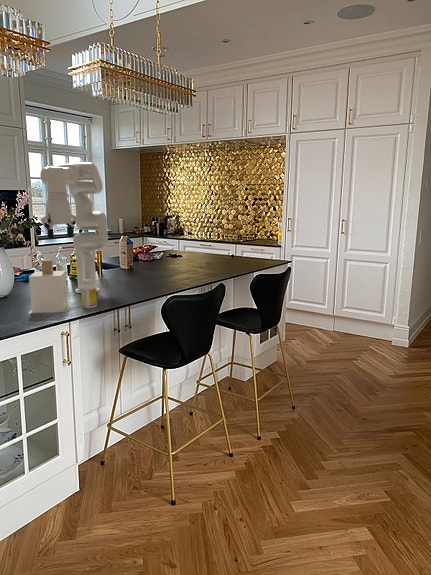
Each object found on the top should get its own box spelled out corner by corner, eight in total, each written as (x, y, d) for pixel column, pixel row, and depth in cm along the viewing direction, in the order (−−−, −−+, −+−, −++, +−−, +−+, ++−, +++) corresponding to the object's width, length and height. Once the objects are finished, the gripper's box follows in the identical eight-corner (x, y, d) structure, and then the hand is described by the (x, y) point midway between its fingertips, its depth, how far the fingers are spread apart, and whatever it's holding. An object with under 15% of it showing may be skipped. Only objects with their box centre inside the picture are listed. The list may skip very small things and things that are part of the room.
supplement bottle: (98, 305, 207) (97, 278, 204) (95, 308, 201) (93, 281, 198) (84, 305, 207) (82, 278, 204) (80, 308, 200) (78, 281, 198)
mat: (36, 305, 206) (36, 304, 206) (71, 304, 209) (71, 303, 209) (27, 314, 191) (27, 313, 191) (66, 312, 194) (66, 311, 193)
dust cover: (38, 305, 205) (34, 258, 201) (68, 304, 207) (64, 257, 203) (32, 312, 192) (27, 262, 188) (63, 311, 195) (59, 261, 190)
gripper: (69, 196, 195) (72, 235, 199) (34, 197, 182) (37, 238, 185) (80, 196, 191) (82, 236, 195) (44, 197, 177) (48, 239, 181)
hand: (60, 237), depth 190 cm, fingers open, 9 cm apart
